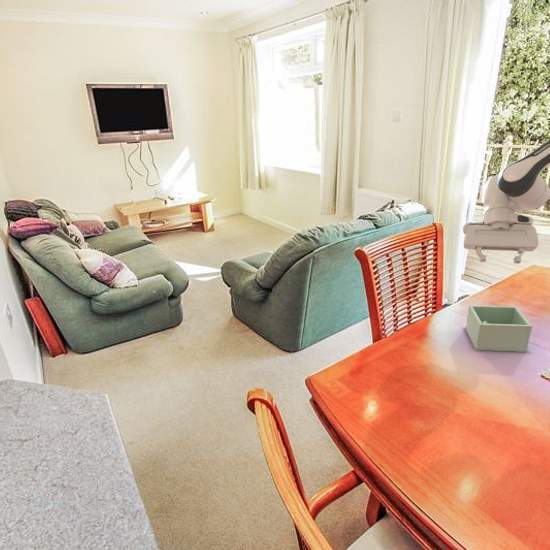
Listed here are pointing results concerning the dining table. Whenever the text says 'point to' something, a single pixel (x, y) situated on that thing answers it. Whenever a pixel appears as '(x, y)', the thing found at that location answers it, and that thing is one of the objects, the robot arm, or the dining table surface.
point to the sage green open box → (498, 328)
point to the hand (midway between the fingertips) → (499, 262)
